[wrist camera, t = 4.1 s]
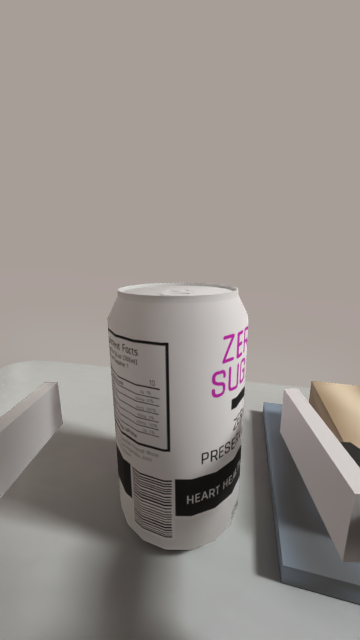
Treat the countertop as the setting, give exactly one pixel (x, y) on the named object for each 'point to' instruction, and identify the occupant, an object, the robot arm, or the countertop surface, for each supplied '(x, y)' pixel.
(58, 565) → the countertop surface
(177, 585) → the countertop surface
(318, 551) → the base
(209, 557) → the countertop surface
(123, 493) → the supplement can
